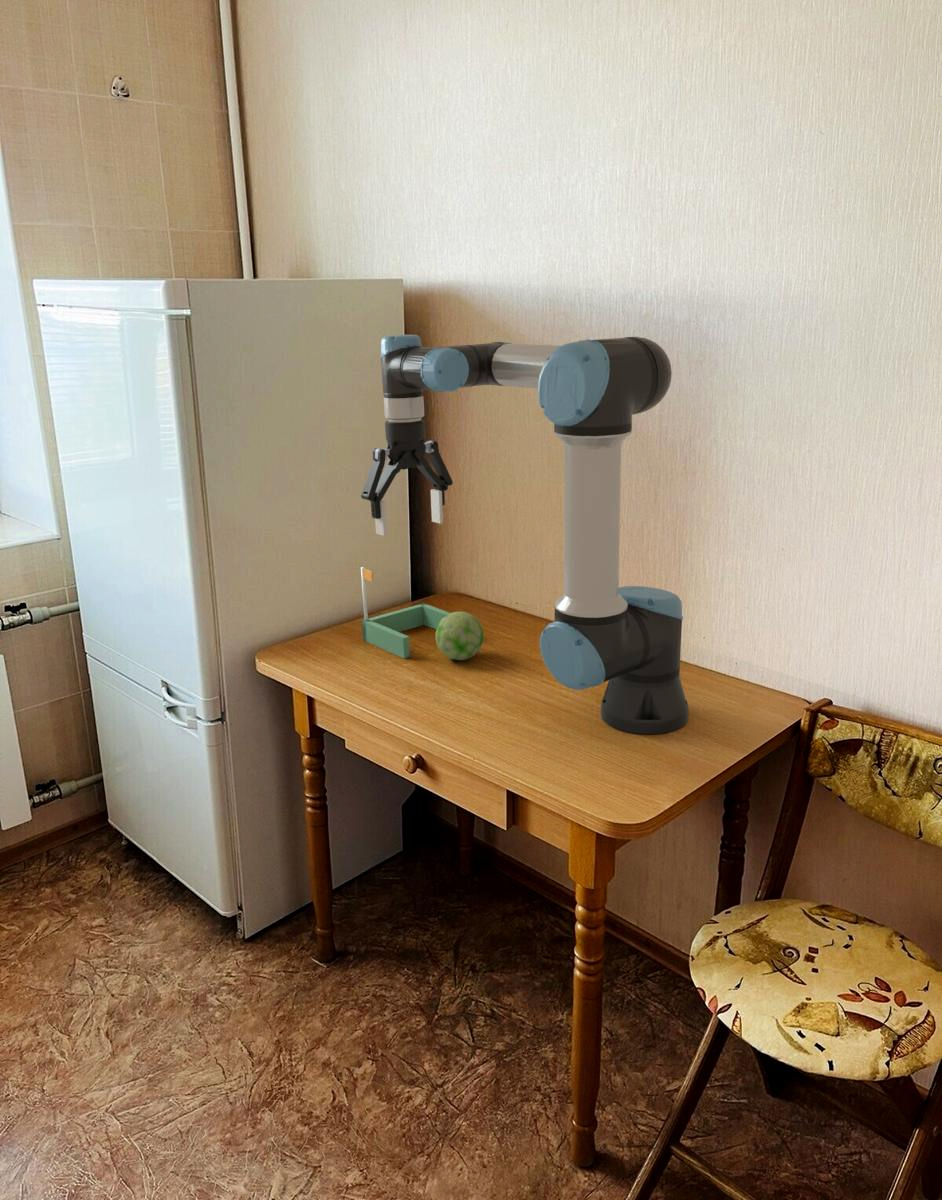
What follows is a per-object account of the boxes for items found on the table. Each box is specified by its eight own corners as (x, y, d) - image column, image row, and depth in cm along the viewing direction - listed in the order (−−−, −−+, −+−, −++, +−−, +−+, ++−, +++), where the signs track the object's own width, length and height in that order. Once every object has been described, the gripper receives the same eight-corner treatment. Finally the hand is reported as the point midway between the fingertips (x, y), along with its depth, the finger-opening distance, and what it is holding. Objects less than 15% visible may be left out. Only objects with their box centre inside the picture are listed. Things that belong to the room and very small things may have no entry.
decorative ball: (488, 664, 193) (487, 618, 190) (440, 669, 191) (438, 622, 188) (479, 648, 202) (478, 603, 199) (432, 652, 200) (430, 607, 197)
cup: (467, 638, 208) (465, 565, 202) (404, 658, 197) (400, 582, 192) (424, 621, 219) (421, 552, 214) (362, 639, 209) (357, 567, 204)
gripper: (444, 411, 191) (448, 514, 198) (337, 424, 176) (345, 536, 183) (467, 414, 185) (471, 520, 192) (360, 428, 171) (367, 543, 177)
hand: (410, 528), depth 187 cm, fingers open, 13 cm apart
